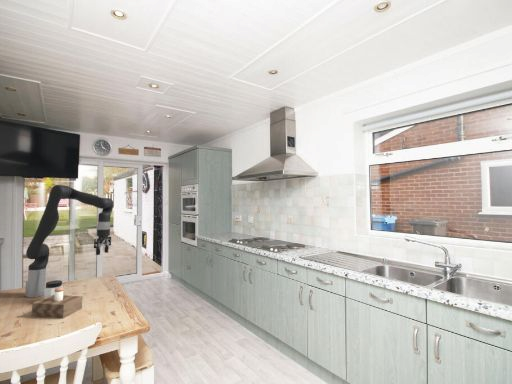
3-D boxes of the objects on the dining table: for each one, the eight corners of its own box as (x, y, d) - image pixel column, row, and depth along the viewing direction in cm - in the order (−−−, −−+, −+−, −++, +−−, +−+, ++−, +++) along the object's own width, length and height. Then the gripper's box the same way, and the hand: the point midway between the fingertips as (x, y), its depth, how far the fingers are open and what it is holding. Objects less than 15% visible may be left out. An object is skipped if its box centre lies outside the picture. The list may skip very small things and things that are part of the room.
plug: (51, 313, 151) (53, 289, 152) (57, 310, 155) (58, 287, 155) (58, 313, 150) (59, 289, 151) (63, 310, 154) (65, 287, 155)
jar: (58, 303, 166) (59, 283, 167) (42, 304, 163) (43, 284, 164) (62, 298, 174) (64, 279, 175) (47, 299, 172) (49, 280, 172)
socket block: (31, 316, 146) (32, 303, 147) (52, 306, 160) (53, 294, 161) (63, 318, 145) (63, 304, 145) (81, 308, 159) (82, 296, 159)
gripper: (105, 227, 185) (103, 251, 184) (90, 229, 171) (89, 255, 170) (115, 228, 185) (114, 252, 184) (102, 229, 170) (100, 255, 170)
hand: (102, 253), depth 177 cm, fingers open, 8 cm apart
